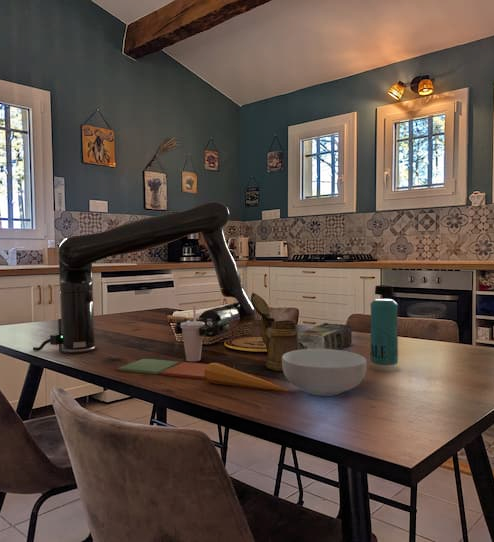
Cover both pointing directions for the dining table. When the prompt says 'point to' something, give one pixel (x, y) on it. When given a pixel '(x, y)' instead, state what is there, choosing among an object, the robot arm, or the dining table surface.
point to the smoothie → (192, 338)
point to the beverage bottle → (384, 328)
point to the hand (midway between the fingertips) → (188, 330)
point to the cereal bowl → (323, 370)
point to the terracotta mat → (187, 370)
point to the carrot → (236, 378)
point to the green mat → (149, 366)
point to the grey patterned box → (326, 337)
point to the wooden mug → (275, 334)
